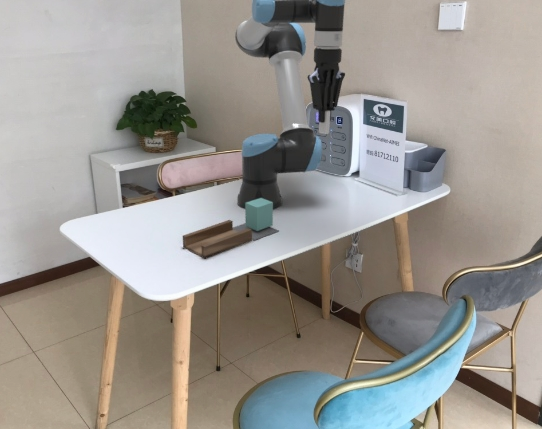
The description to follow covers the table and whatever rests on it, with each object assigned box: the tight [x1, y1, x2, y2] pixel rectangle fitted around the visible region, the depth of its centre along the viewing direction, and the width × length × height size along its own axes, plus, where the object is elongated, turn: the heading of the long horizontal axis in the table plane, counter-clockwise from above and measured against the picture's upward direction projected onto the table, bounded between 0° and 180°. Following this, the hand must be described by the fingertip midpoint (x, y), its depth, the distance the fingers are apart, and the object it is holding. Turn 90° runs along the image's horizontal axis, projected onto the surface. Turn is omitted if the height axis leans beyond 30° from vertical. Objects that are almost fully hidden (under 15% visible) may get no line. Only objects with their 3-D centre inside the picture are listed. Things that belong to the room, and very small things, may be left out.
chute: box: [182, 219, 253, 259], centre depth 153 cm, size 10×17×4 cm, turn 134°
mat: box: [233, 222, 280, 242], centre depth 162 cm, size 11×10×1 cm
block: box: [244, 198, 274, 231], centre depth 162 cm, size 5×6×8 cm
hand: (323, 133), depth 154 cm, fingers closed
